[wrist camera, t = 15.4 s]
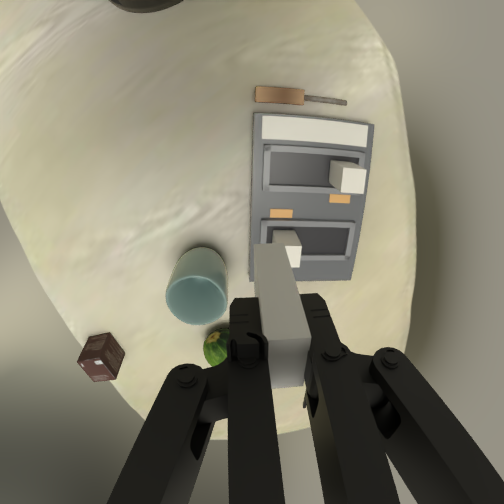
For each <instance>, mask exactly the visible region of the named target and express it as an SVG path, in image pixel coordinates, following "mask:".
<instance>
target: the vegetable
mask: <svg viewBox="0 0 504 504" xmlns="http://www.w3.org/2000/svg"><path fill="white" fill-rule="evenodd" d="M228 338H229V329H217V330H216V331H214V332H212V333H211V334H210V336H209V337H208V338H207V339H206V340H205V341H204V346H203V350H204V355H205V358H206V360H207V361H208V363H209V364H210V365H211V366H212V367H213V366H216V365H218V364H220V363H221V362H223V361H224V360H225V359H226V357H227V350H226V343H227V339H228Z"/></svg>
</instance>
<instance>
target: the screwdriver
mask: <svg viewBox="0 0 504 504" xmlns="http://www.w3.org/2000/svg"><path fill="white" fill-rule="evenodd" d="M304 100H306V101H315V102H323V103H331V104H338V105H345V106H346V105H347V101H345V100H338V99H331V98H324V97H316V96H307V95H304V90H300V89H290V88H277V87H260V86H256V87H255V102H267V103H283V104H295V105H304Z"/></svg>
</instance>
